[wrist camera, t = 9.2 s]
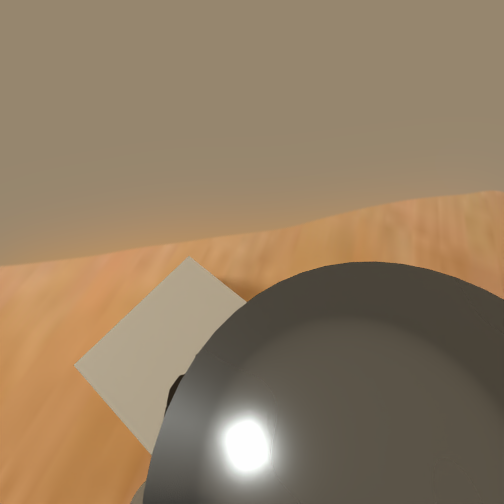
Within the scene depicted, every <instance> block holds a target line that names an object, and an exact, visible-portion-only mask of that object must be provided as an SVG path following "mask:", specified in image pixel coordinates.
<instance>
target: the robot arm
mask: <svg viewBox="0 0 504 504" xmlns="http://www.w3.org/2000/svg"><path fill="white" fill-rule="evenodd" d="M196 355H197V354H196ZM195 357H196V356H195ZM184 375H185V374H183V375H179V377H178V378H177V379H176V381H175V382H174V384H173V385H172V386H171V388H170V390H169V394H168V399H167V407H166V409H165V413H166V411H167V409H168V407H169V405H170V403H171V401H172V398H173V396H174V394H175V392H176V390H177V388H178V385H179V383H180V381H181V380H182V378H183V376H184ZM164 416H165V414H164ZM145 484H146V481H145V482H144V483H143V484H142V485H141V487H140V488H139V489H138V490H137V492H136V494H135V495H134V497H133V499H132V501H131V503H130V504H142V503H143V495H144V489H145Z"/></svg>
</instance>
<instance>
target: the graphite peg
mask: <svg viewBox="0 0 504 504" xmlns="http://www.w3.org/2000/svg"><path fill="white" fill-rule="evenodd" d="M142 504H504V300H503V299H501V298H500V297H498V296H496V295H494V294H492V293H490V292H488V291H486V290H484V289H482V288H480V287H477V286H475V285H473V284H470V283H468V282H465V281H463V280H461V279H458V278H456V277H453V276H449V275H446V274H443V273H439V272H436V271H433V270H430V269H425V268H420V267H415V266H410V265H405V264H397V263H385V262H350V263H343V264H336V265H329V266H324V267H320V268H317V269H313V270H310V271H306V272H302V273H300V274H297V275H295V276H293V277H290V278H288V279H286V280H283V281H281V282H278V283H277V284H275V285H273V286H272V287H270V288H268V289H266V290H265V291H263V292H261V293H259V294H258V295H256V296H255V297H254V298H252V299H251V300H250V301H248V302H247V303H246V304H244V305H243V306H242V307H240V308H239V309H238V310H237V311H235V312H234V313H233V314H232V315H231V316H230V317H229V318H228V319H227V320H226V321H225V322H224V323H223V324H222V325H221V326H220V327H219V328H218V329H217V330H216V331H215V332H214V334H213V335H212V336H211V337H210V339H209V340H208V341H207V342H206V344H205V345H204V346H203V347H202V349H201V350H200V351H199V353H198V354H197V355H196V357H195V358H194V360H193V362H192V363H191V365H190V367H189V368H188V370H187V372H186V373H185V375H184V376H183V378H182V380H181V381H180V383H179V385H178V388H177V390H176V392H175V394H174V396H173V398H172V401H171V403H170V405H169V407H168V409H167V411H166V413H165V416H164V419H163V422H162V425H161V428H160V431H159V434H158V437H157V440H156V443H155V446H154V449H153V453H152V457H151V462H150V466H149V471H148V475H147V480H146V484H145V489H144V495H143V503H142Z"/></svg>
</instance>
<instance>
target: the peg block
mask: <svg viewBox="0 0 504 504" xmlns="http://www.w3.org/2000/svg"><path fill="white" fill-rule="evenodd" d="M246 303H247V302H246V301H245V300H244V299H242V298H241V297H240V296H239V295H237V294H236V293H235V292H234V291H232V290H231V289H230V288H229V287H227V286H226V285H225V284H223V283H222V282H221V281H220V280H218V279H217V278H216V277H215V276H213V275H212V274H211V273H210V272H208V271H207V270H206V269H205V268H203V267H202V266H201V265H200V264H198V263H197V262H196V261H195V260H193V259H192V258H191V257H190V256H188V257H187V258H186V259H185V260H184V261H183V262H182V263H181V264H180V265H179V266H178V267H177V268H176V269H175V270H174V271H172V272H171V273H170V274H169V275H168V276H167V277H166V278H165V279H164V280H163V281H162V282H161V283H160V284H159V285H158V286H157V287H156V288H155V289H153V290H152V291H151V292H150V293H149V294H148V295H147V296H146V297H145V298H144V299H143V300H142V301H141V302H140V303H139V304H138V305H137V306H136V307H134V308H133V309H132V310H131V311H130V312H129V313H128V314H127V315H126V316H125V317H124V318H123V319H122V320H121V321H120V322H119V323H118V324H117V325H116V326H114V327H113V328H112V329H111V330H110V331H109V332H108V333H107V334H106V335H105V336H104V337H103V338H102V339H101V340H100V341H99V342H98V343H97V344H95V345H94V346H93V347H92V348H91V349H90V350H89V351H88V352H87V353H86V354H85V355H84V356H83V357H82V358H81V359H80V360H79V361H78V362H76V363H75V364H74V366H75V367H76V369H77V370H78V371H79V372H80V373H81V374H82V375H83V377H84V378H85V379H86V380H87V381H88V382H89V384H90V385H91V386H92V387H93V388H94V389H95V390H96V392H97V393H98V394H99V395H100V396H101V397H102V399H103V400H104V401H105V402H106V403H107V404H108V405H109V407H110V408H111V409H112V410H113V411H114V412H115V414H116V415H117V416H118V417H119V418H120V419H121V420H122V422H123V423H124V424H125V425H126V426H127V427H128V429H129V430H130V431H131V432H132V433H133V434H134V435H135V437H136V438H137V439H138V440H139V441H140V442H141V444H142V445H143V446H144V447H145V448H146V449H147V450H148V452H149V453H150V454H151V455H152V453H153V449H154V446H155V443H156V440H157V437H158V434H159V431H160V428H161V425H162V422H163V419H164V414H165V409H166V407H167V399H168V394H169V390H170V388H171V386H172V385H173V384H174V382H175V381H176V379H177V378H178V377H179V375H183V374H185V373H186V372H187V370H188V368H189V367H190V365H191V363H192V362H193V360H194V358H195V356H196V354H198V353H199V351H200V350H201V349H202V347H203V346H204V345H205V344H206V342H207V341H208V340H209V339H210V337H211V336H212V335H213V334H214V332H215V331H216V330H217V329H218V328H219V327H220V326H221V325H222V324H223V323H224V322H225V321H226V320H227V319H228V318H229V317H230V316H231V315H232V314H233V313H234V312H235V311H237V310H238V309H239V308H240V307H242V306H243V305H244V304H246Z"/></svg>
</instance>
